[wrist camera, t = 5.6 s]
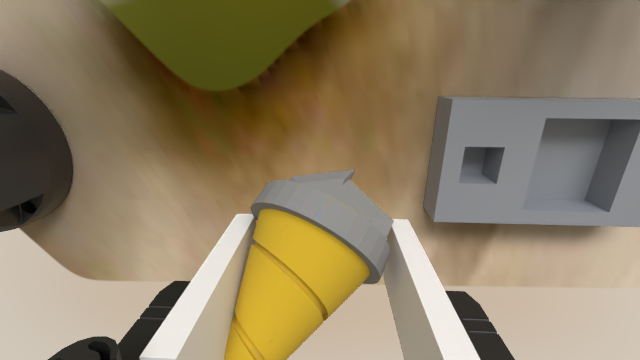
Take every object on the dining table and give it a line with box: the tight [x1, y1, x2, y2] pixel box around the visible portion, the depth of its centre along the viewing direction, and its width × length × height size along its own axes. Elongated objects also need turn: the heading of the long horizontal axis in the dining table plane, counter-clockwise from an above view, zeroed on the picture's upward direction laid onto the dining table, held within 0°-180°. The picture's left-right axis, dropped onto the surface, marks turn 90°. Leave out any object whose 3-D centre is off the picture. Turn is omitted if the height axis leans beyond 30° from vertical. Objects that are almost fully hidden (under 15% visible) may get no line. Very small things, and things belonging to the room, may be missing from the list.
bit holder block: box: [423, 96, 640, 227], centre depth 24 cm, size 17×10×3 cm, turn 89°
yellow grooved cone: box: [224, 169, 394, 360], centre depth 10 cm, size 5×5×10 cm
